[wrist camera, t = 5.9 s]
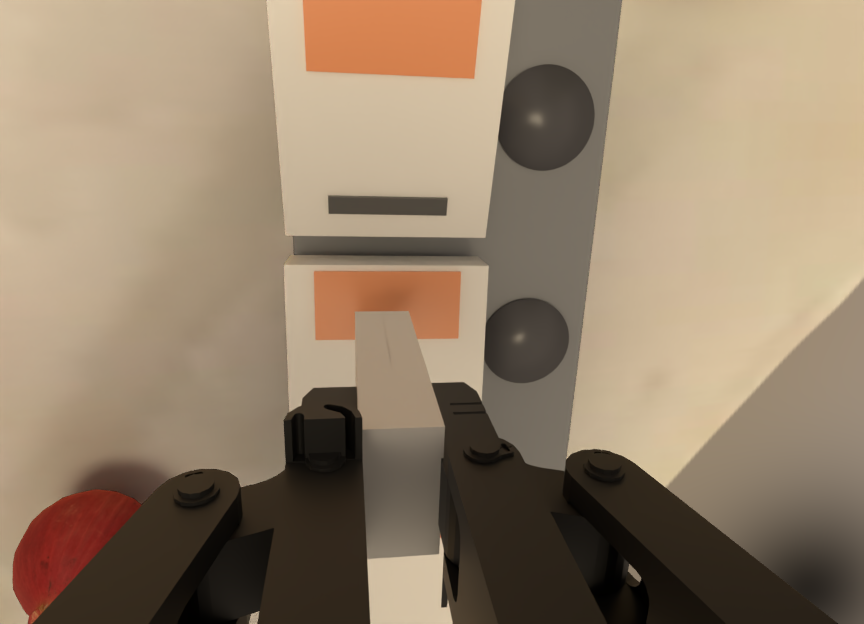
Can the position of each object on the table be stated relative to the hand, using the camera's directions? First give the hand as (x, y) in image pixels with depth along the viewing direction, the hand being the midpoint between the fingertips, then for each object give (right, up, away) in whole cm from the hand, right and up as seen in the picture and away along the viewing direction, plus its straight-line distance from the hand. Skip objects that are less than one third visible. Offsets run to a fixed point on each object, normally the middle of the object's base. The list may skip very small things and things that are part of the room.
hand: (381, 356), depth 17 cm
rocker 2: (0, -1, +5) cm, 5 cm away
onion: (-15, -9, +14) cm, 22 cm away
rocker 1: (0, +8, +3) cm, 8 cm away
